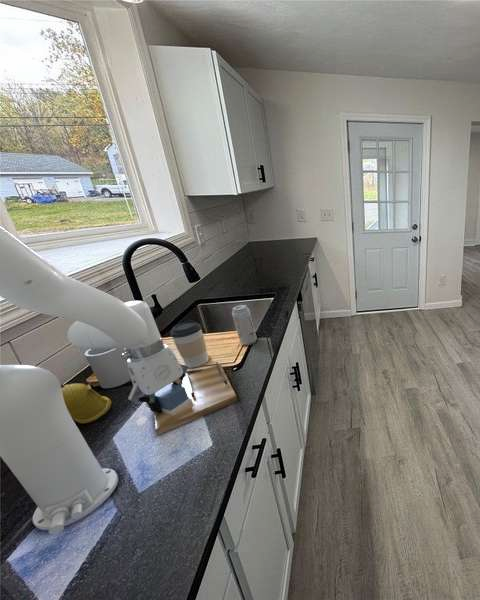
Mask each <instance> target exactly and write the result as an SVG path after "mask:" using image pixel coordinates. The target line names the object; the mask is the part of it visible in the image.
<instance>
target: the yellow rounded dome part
mask: <svg viewBox="0 0 480 600" xmlns="http://www.w3.org/2000/svg"><path fill="white" fill-rule="evenodd" d="M60 385H61V389H62V394H63V399H64V402H65V405H66V407H67V409H68V412H69V414H70V415H71V417H72V419H73V420H75V422H77V424H81V425H84V424H86V425H87V424H90V423H93V422H95V421H96V420H98V419H100V418H101V417H102V416H103V415H105V414H106V413H107V412H108V411H110V410H111V407H112V399H111V398H110V397H107V396H105V395H100V394H99V393H98V392H97V391H95V390H94V389H93V388H92V386H91V384H85V383H79V382H78V383H77V382H76V383H70V384H69V383H68V384H64V383H60Z"/></svg>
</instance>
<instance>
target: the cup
mask: <svg viewBox="0 0 480 600" xmlns="http://www.w3.org/2000/svg"><path fill="white" fill-rule="evenodd" d="M124 349H125V348H123V349H87V350H86V351H85V352H84V356H85V358H86V361H87V363H88V364H89V366H90V368H91V370H92V372H93V374H94V376H95V378H96V380H97V382H98V384H99V386H100V388H101V389H112V388H115V387H119V386H122V385H125V384H126V383H128V382H130V381H131V378H130V374H129V370H128V364H127V359H129V358H126V359H122V357H121V355H122V354H124V353H125V350H124Z"/></svg>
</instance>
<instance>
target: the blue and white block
mask: <svg viewBox="0 0 480 600" xmlns="http://www.w3.org/2000/svg"><path fill="white" fill-rule="evenodd" d="M155 400H158V401H159V404H160V406H161V408H162V412H164V413H167V414H170V415H175V414H176V413H177V412H179V411H180V410H182V409H183V408H185V407H186V406H187V405H189V404H190V403H192V399H191V398H188V395H187V393H186V390H185V388H184V387H183V386H179V385H175V384H171V383H170V384H169V385H167V386H165V387H164V388H162V389H160V390H159V391H157V392H155ZM144 405H145V407H146V408H149V405H148V403H147V402H144ZM149 409H150V408H149Z"/></svg>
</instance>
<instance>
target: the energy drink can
mask: <svg viewBox="0 0 480 600" xmlns="http://www.w3.org/2000/svg"><path fill="white" fill-rule="evenodd" d="M231 316H232V319H233V323H234V325H235V326H234V327H235V330H236V333H237V337H238V339H239V343H240V344H241V345H243V346H250V345H254V344H255V343H256V341H257V338H258V337H257V334H256V330H255V326H254V322H253V319H252V314H251V311H250V308H249V307H248V306H247V305H246V304H238V305H236V306H233V307H232V311H231Z"/></svg>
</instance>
